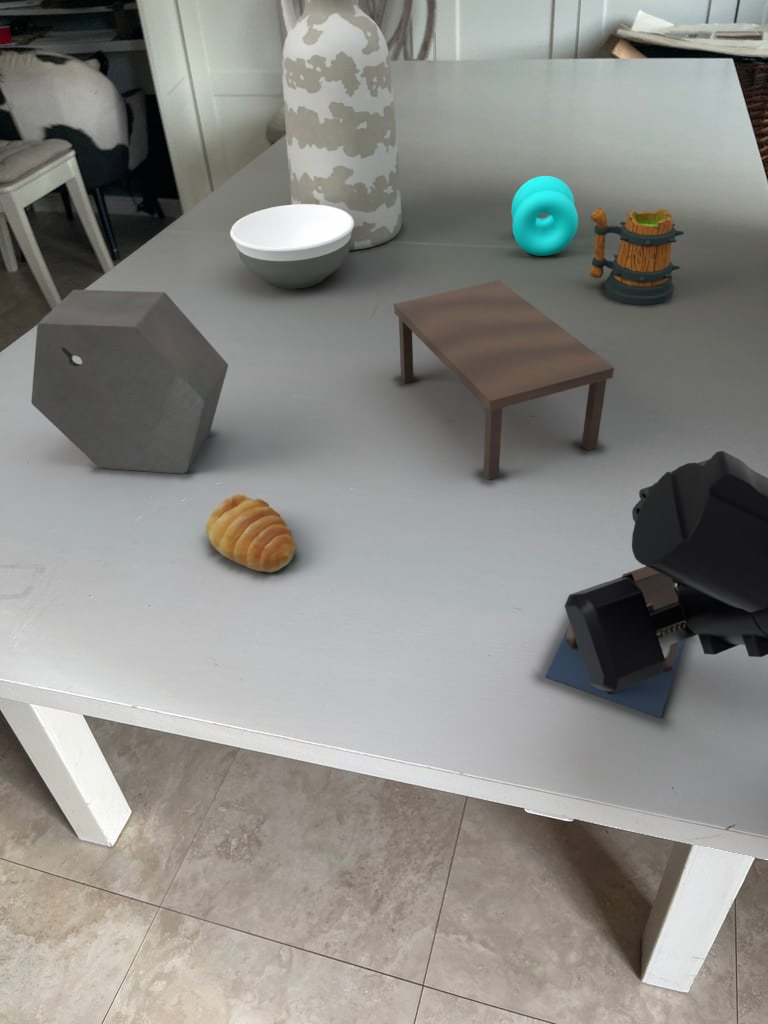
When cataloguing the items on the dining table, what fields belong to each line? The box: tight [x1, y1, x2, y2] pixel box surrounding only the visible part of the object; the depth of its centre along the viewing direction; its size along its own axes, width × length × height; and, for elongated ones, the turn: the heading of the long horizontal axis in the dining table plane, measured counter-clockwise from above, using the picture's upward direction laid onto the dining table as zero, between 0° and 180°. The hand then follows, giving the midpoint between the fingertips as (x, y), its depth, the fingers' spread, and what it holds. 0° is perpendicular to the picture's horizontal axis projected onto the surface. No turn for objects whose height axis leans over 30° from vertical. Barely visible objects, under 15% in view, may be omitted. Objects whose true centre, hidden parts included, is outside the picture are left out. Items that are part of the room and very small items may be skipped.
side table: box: [393, 279, 615, 481], centre depth 91 cm, size 24×14×10 cm, turn 22°
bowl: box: [229, 204, 354, 289], centre depth 124 cm, size 19×19×8 cm
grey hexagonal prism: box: [30, 289, 229, 475], centre depth 86 cm, size 17×8×21 cm
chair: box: [566, 565, 686, 694], centre depth 61 cm, size 6×6×12 cm
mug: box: [588, 207, 684, 306], centre depth 113 cm, size 13×10×12 cm
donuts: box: [511, 175, 579, 257], centre depth 128 cm, size 10×10×10 cm
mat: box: [545, 627, 686, 719], centre depth 65 cm, size 9×9×1 cm
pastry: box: [205, 494, 297, 573], centre depth 76 cm, size 9×7×4 cm
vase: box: [280, 0, 403, 251], centre depth 129 cm, size 20×19×38 cm
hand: (639, 602), depth 60 cm, fingers open, 6 cm apart
